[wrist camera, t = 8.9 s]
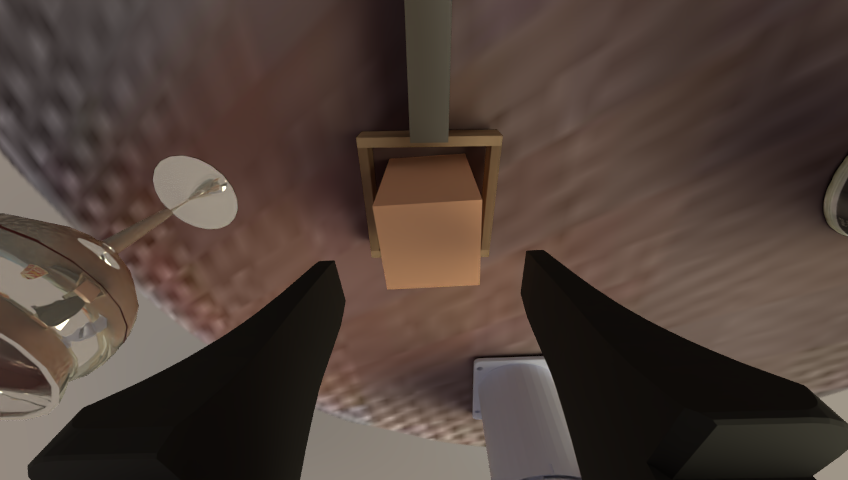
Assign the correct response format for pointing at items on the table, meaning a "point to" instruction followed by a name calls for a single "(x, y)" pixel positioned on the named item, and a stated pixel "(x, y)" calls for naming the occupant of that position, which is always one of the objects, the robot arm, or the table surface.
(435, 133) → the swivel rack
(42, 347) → the wineglass
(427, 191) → the block
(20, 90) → the table surface
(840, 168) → the coffee can
